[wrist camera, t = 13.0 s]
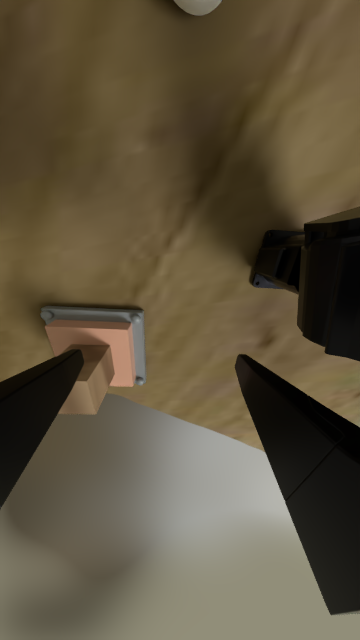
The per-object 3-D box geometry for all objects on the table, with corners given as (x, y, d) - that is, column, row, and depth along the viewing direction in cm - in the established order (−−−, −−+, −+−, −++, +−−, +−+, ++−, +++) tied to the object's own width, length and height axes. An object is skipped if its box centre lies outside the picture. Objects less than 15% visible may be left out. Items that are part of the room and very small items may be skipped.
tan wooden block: (110, 345, 20) (86, 381, 15) (114, 373, 22) (95, 414, 17) (70, 344, 20) (32, 380, 15) (79, 373, 22) (48, 413, 17)
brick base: (143, 310, 22) (139, 319, 19) (146, 378, 27) (143, 393, 24) (46, 305, 21) (27, 314, 18) (69, 377, 26) (57, 391, 24)
